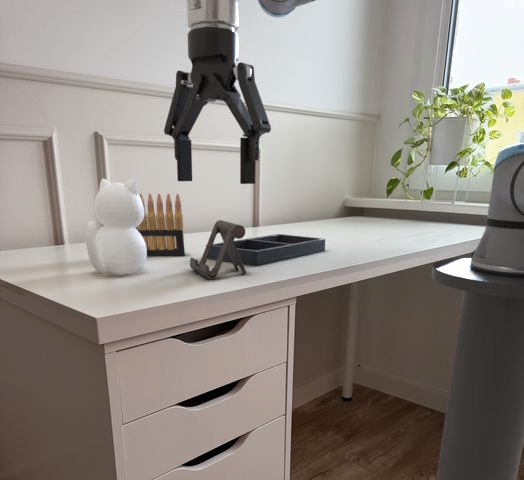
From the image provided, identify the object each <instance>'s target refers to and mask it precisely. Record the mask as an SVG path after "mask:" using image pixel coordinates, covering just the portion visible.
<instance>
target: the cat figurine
mask: <svg viewBox="0 0 524 480" xmlns="http://www.w3.org/2000/svg"><path fill="white" fill-rule="evenodd" d="M93 211H94V214H95V217H96V219H97V220H98V221H99V223H100V224H101V225H103V226H101V227H100V228H99V229H98V230H97V225H96V222H95V221H94V220H89V222H88V223H87V225H86V228H85V244H86V245H85V246H86V250H87V254H88V257H89V258H88V259H89V260H90V263H91V265H92V267H93V269H95V271H97V272H98V273H99V274H102V275H111V276H126V275H130V274H133V273H135V272H138V271H140V270H142V269H143V267H144V266H145V265H146V262H147V258H148V256H147V249H146V244H145V241H144V239H143V237H142V235H141V234H140V233H139V232H138V230H137V229H135V228H136V227H137V226H138V227H139V225H140V224H141V222H142V221H143V218H144V207H143V203H142V200H141V198H140V194H139V185H138V181H137V179H136V178H131V179H129V180H128V181H126V182H124V183H123V182H110V181H109V180H108V179H106V178H102V179H101V180H100V183H99V188H98V192H97V194H96V195H95V198H94V203H93Z"/></svg>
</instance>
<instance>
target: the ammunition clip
mask: <svg viewBox="0 0 524 480" xmlns="http://www.w3.org/2000/svg"><path fill="white" fill-rule="evenodd" d="M139 196H140V198H141V200H142V203H143V207H144V218H143V221H142V222H141V224H140V225H139V226H137V227H136V228H135V229H137V230H138V232H139V233H140V234H141V235H142V237H143V239H144V241H145V244H146V249H147V257H184V256H186V253H185V252H186V250H185V241H184V240H185V239H184V215H183V211H182V201H181V197H180V194H179V193H176V196H175V201H174V213H173V202H172V198H171V194H170V193H167V194H166V199H165V214H164V203H163V198H162V196H161V194H160V193H158V194H157V197H156V213H155V205H154V203H155V202H154V199H153V197H152V194H151V193H148V195H147V213H146V205H145V199H144V195H143V194H142V193H140V194H139Z"/></svg>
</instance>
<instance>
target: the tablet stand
mask: <svg viewBox="0 0 524 480" xmlns="http://www.w3.org/2000/svg"><path fill="white" fill-rule="evenodd" d="M218 234H220V237H221V239H222V243H223V245H222V248H221V250H220V253H219V255H218V258H217V260H215V263H214V266H213V267H212V268H211V269H210V266H209V265H208V264H206V263H207V260H208V255H209V253H210V250H211V248H212V245H213V244H214V243H215V239H216V237H217V235H218ZM245 235H246V228H245V227H244V226H243V225H241V224H237V223H233V222H230V221H226V220H222V219H219V220H217V221H215V223H214V225H213V228H212V230H211V233H210V236H209V237H208V241H207V243H206V245H207V246H206V245H205V249H204V251H203V252H202V253H203V254H202V256H201V259H200V260H198V259H196V258H194V257H190V259H189V267H190V268H191V269H192V270H193V271H194V272H196V273H199V274H200V275H202V276H204V277H205V278H206V279H208V280H214V279H216V278H217V276H218V274H219V271H220V269H221V267H222V264H223V262H224V261H223V259H224V256H225V254H226V251H228V254H229V256H230V259H231V261H232V262H231V263H232V265H233V268H234V270H235V271H237V272H239V271H241V273H242V274H243V275H246V274H247V271H246V269H245V265H244V264H243V263H242V261H241V258H240V256H239V253H238V251H237V248H236V246H235V243H234V241H235V239H236V240H242V239H244V237H245Z"/></svg>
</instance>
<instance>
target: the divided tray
mask: <svg viewBox="0 0 524 480" xmlns="http://www.w3.org/2000/svg"><path fill="white" fill-rule="evenodd" d="M234 243H235V246H236V248H237V251H238V253H239V256H240V258H241V261H242V263H243V265H250V266H256V267H257V266H261V265H266V264H271V263H275V262H279V261H284V260H289V259H294V258H298V257H303V256H308V255H312V254H316V253H320V252H325V251H326V238H324V237H323V238H322V237H312V236H301V235H292V234H284V233H283V234H282V233H276V234H269V235H263V236H256V237H249V238H241V239H236V240H234ZM222 245H223V242H216V243H213V245H212V248H211V250H210V253H209V255H208V258H207V260H208V259H210V260H215V261H216V260H217V258H218V255H219V253H220V250H221V248H222ZM206 246H207V244H206V245H205V247H206ZM222 262H228V263H232V261H231V259H230V256H229V254H228V251H226V254H225V256H224V259H223V261H222Z"/></svg>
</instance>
